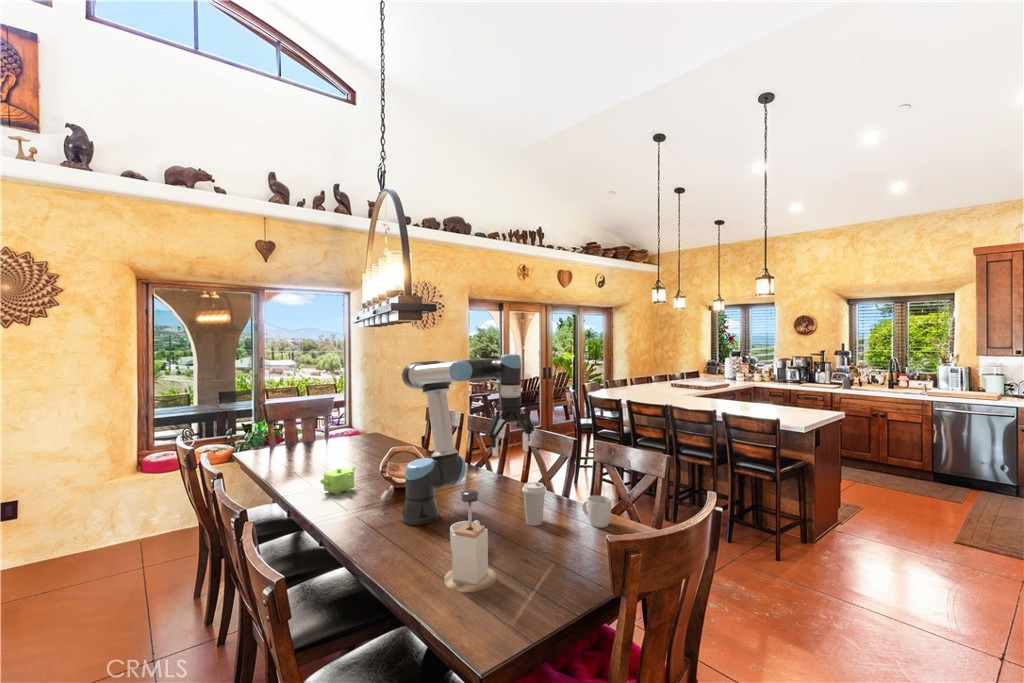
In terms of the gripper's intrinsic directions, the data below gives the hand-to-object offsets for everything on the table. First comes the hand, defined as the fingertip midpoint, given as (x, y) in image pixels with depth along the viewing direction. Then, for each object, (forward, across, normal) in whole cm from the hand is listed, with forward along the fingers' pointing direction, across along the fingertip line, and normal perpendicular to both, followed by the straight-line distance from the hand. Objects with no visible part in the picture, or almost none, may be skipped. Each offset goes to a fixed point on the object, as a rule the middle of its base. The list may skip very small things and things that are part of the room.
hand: (510, 453), depth 173 cm
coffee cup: (+31, +15, +5) cm, 35 cm away
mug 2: (+31, +34, -10) cm, 47 cm away
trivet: (+31, -28, -19) cm, 45 cm away
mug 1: (+31, -18, +1) cm, 36 cm away
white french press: (+30, -28, -19) cm, 45 cm away
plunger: (+20, -28, -18) cm, 39 cm away
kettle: (+33, -38, +90) cm, 103 cm away
